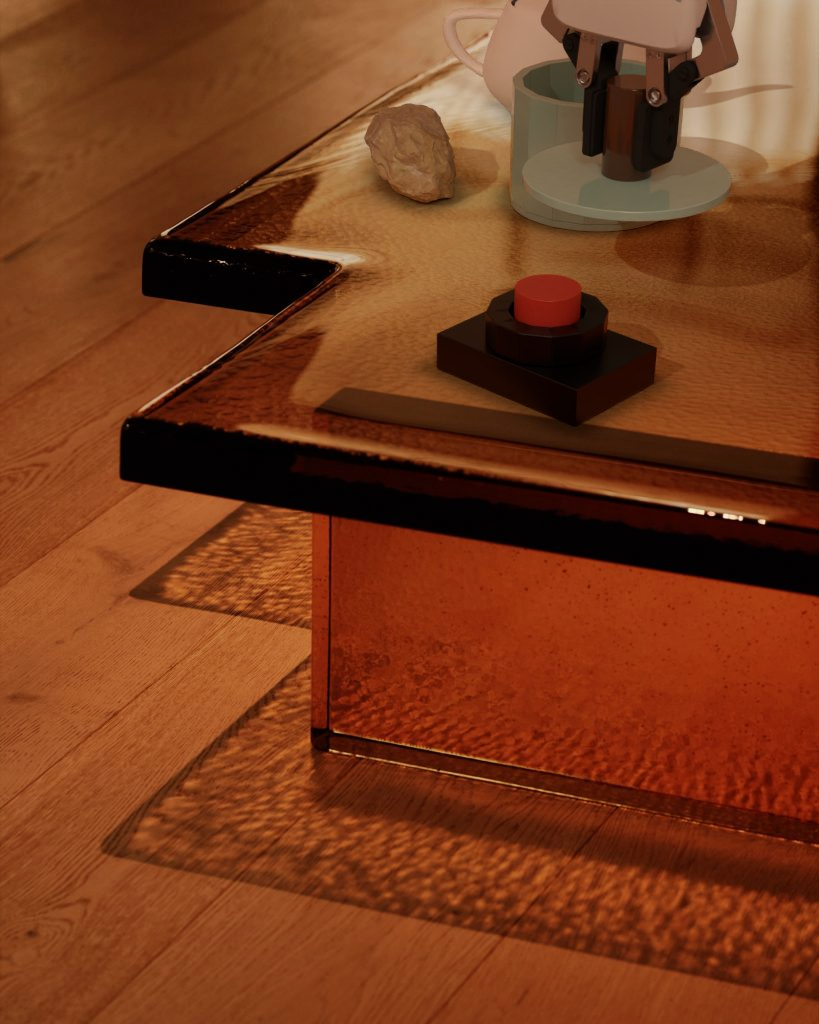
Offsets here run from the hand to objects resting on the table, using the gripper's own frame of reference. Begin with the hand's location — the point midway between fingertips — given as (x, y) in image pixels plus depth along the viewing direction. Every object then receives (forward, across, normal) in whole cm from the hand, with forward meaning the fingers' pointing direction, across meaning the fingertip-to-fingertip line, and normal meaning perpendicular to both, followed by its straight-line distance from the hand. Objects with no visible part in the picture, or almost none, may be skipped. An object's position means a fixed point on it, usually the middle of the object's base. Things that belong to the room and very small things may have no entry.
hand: (627, 155), depth 95 cm
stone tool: (+9, +23, -5) cm, 25 cm away
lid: (+2, 0, 0) cm, 2 cm away
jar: (+9, +11, -11) cm, 18 cm away
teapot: (+9, +25, -26) cm, 37 cm away
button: (+5, -4, +12) cm, 14 cm away
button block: (+9, -4, +12) cm, 15 cm away
